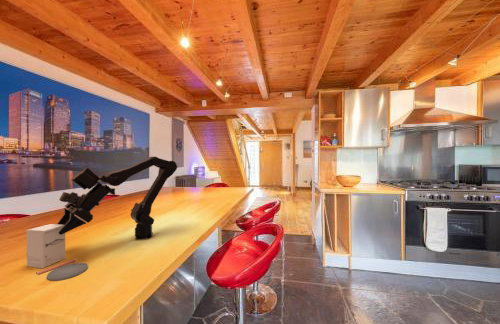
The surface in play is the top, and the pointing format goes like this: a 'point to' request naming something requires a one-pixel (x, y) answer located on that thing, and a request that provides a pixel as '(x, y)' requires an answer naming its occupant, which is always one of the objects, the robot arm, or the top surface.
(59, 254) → the supplement box
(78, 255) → the top surface
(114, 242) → the top surface
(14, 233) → the top surface
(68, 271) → the disc
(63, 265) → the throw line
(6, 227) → the top surface
